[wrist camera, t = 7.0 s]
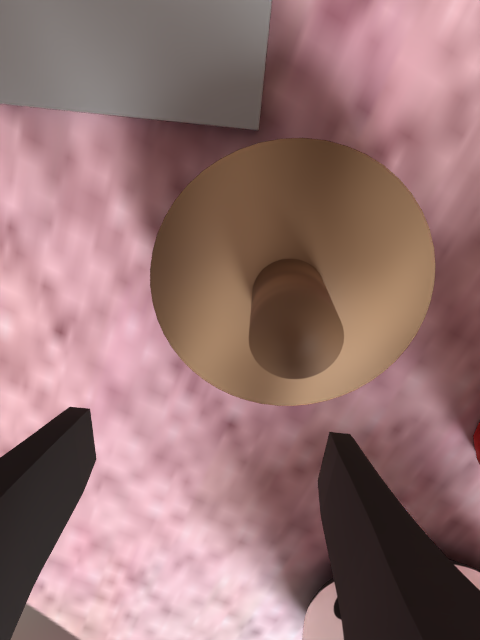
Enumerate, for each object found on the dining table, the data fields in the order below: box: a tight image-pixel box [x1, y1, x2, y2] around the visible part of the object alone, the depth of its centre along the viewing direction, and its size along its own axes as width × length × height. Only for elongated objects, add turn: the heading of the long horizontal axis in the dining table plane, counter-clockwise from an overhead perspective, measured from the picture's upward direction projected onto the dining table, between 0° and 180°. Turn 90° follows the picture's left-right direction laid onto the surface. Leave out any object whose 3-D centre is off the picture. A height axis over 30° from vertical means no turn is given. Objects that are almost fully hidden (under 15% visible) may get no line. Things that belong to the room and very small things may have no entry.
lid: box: [150, 138, 435, 406], centre depth 14 cm, size 12×12×5 cm
